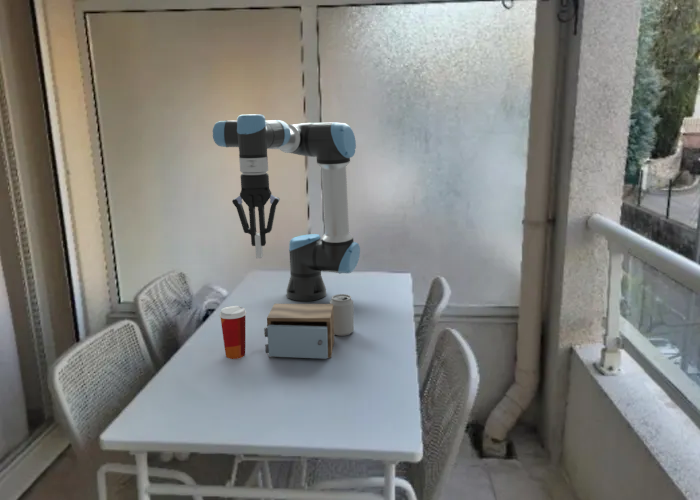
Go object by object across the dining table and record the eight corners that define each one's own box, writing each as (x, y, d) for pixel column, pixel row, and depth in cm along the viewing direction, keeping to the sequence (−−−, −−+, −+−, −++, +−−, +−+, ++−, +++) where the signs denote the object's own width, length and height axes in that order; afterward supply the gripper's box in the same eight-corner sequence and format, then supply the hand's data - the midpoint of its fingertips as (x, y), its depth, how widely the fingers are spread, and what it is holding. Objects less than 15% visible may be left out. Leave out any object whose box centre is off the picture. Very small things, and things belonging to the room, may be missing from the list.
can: (351, 337, 177) (350, 301, 174) (327, 336, 178) (327, 299, 176) (355, 328, 184) (355, 293, 181) (333, 327, 186) (332, 292, 183)
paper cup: (239, 347, 171) (236, 303, 167) (254, 355, 165) (251, 309, 162) (216, 355, 165) (213, 310, 162) (231, 363, 160) (228, 316, 157)
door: (266, 353, 164) (265, 324, 161) (327, 356, 162) (327, 326, 159) (264, 357, 161) (262, 327, 159) (326, 360, 159) (325, 330, 157)
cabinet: (276, 340, 175) (274, 303, 173) (334, 340, 175) (333, 303, 172) (268, 356, 164) (266, 317, 161) (331, 357, 163) (330, 318, 160)
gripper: (227, 175, 150) (233, 261, 156) (276, 174, 150) (280, 260, 156) (233, 171, 157) (239, 253, 163) (280, 170, 157) (284, 253, 163)
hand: (259, 256), depth 160 cm, fingers closed
